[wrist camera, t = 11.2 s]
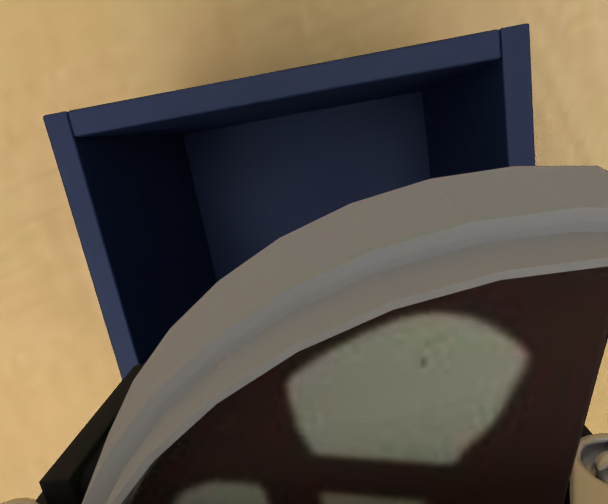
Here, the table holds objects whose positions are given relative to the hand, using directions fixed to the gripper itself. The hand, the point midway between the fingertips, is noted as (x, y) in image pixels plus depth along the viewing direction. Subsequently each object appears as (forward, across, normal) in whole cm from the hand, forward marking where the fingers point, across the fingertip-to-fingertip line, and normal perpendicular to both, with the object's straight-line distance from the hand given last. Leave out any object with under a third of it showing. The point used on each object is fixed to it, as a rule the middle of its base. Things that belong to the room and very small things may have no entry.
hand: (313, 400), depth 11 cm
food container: (+4, 0, 0) cm, 4 cm away
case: (+17, 0, 0) cm, 17 cm away
